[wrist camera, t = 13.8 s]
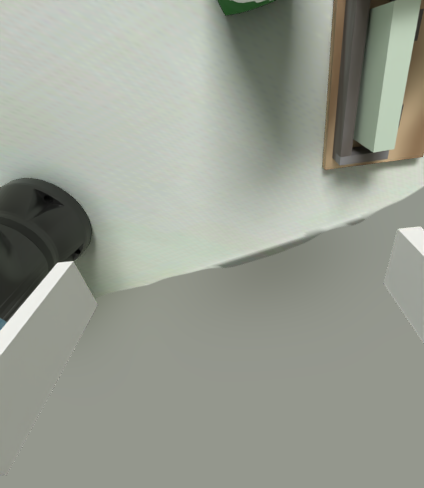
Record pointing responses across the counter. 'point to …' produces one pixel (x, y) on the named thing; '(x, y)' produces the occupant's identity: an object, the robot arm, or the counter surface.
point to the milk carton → (240, 5)
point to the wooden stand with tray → (348, 85)
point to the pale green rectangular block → (385, 73)
